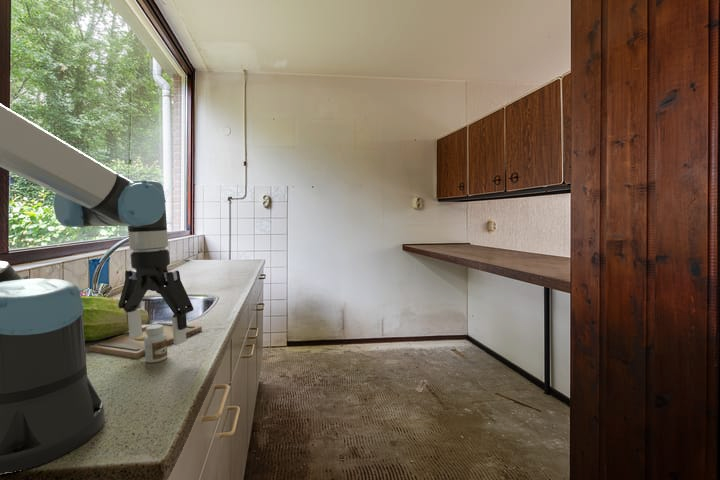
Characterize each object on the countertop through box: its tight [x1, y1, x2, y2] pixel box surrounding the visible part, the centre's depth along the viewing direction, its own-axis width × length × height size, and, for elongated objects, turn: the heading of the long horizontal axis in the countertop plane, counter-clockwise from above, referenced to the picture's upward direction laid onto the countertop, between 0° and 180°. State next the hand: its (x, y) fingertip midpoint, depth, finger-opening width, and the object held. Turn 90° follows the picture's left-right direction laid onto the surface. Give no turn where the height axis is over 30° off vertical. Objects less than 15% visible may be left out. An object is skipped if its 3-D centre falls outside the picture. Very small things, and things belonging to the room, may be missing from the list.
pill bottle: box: [144, 324, 168, 363], centre depth 79 cm, size 4×4×8 cm
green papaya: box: [80, 295, 150, 342], centre depth 94 cm, size 13×22×14 cm
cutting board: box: [89, 321, 203, 359], centre depth 92 cm, size 20×16×2 cm
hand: (157, 340), depth 79 cm, fingers open, 13 cm apart
